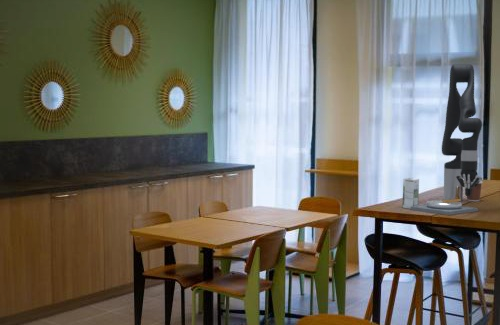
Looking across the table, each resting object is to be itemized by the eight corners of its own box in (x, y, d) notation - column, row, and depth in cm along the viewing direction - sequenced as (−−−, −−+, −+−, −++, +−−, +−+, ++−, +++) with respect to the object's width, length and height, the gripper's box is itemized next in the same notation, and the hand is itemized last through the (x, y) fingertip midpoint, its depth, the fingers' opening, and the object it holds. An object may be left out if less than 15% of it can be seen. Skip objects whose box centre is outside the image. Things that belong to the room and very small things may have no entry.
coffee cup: (483, 201, 348) (484, 179, 347) (465, 201, 350) (466, 178, 349) (481, 199, 357) (481, 177, 356) (463, 199, 359) (464, 177, 358)
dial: (447, 209, 302) (448, 190, 302) (419, 206, 315) (419, 187, 315) (473, 206, 315) (474, 187, 314) (445, 203, 327) (445, 185, 327)
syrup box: (407, 206, 326) (408, 177, 325) (418, 208, 322) (419, 178, 321) (402, 208, 322) (402, 178, 321) (413, 209, 318) (414, 179, 317)
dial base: (438, 206, 329) (438, 202, 329) (477, 211, 312) (477, 207, 312) (409, 209, 316) (409, 206, 316) (449, 215, 298) (449, 211, 298)
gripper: (486, 160, 311) (485, 197, 312) (462, 159, 321) (461, 194, 322) (476, 160, 306) (475, 198, 307) (452, 159, 317) (451, 195, 318)
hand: (468, 196), depth 315 cm, fingers closed
